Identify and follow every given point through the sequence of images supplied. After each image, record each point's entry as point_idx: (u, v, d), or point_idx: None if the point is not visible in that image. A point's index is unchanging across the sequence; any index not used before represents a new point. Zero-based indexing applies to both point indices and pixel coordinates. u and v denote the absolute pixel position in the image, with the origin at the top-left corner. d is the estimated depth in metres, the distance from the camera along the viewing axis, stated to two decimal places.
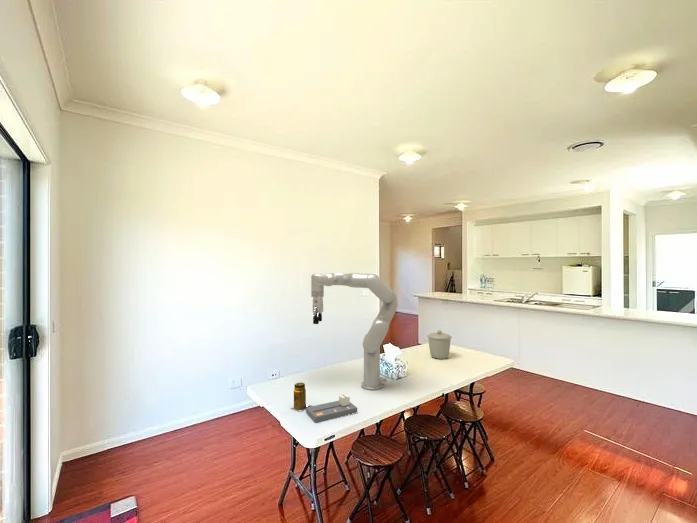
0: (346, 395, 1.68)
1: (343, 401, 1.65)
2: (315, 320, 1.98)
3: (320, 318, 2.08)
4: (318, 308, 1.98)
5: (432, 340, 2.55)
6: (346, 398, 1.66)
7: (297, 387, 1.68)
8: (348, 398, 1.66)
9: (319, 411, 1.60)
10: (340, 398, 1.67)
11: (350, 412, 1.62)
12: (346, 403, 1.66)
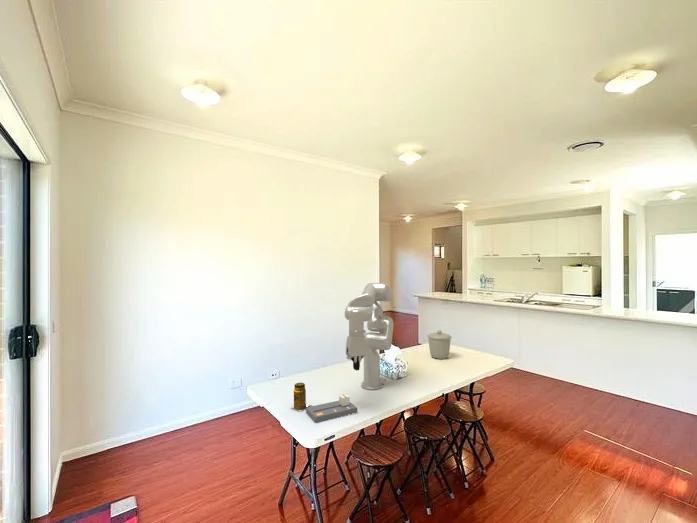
0: (346, 395, 1.68)
1: (343, 401, 1.65)
2: None
3: None
4: None
5: (432, 340, 2.55)
6: (346, 398, 1.66)
7: (297, 387, 1.68)
8: (348, 398, 1.66)
9: (319, 411, 1.60)
10: (340, 398, 1.67)
11: (350, 412, 1.62)
12: (346, 403, 1.66)
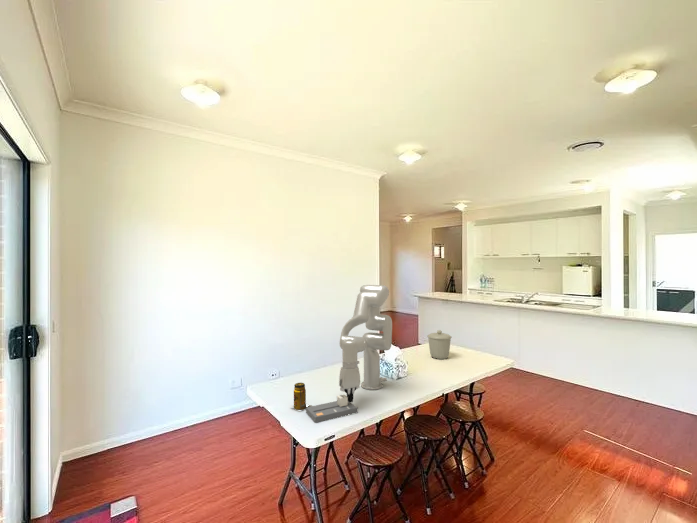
0: (344, 395, 1.68)
1: (341, 402, 1.65)
2: None
3: None
4: None
5: (432, 340, 2.55)
6: (344, 398, 1.65)
7: (297, 387, 1.68)
8: (346, 398, 1.66)
9: (319, 411, 1.60)
10: (338, 398, 1.66)
11: (350, 412, 1.62)
12: (344, 403, 1.65)
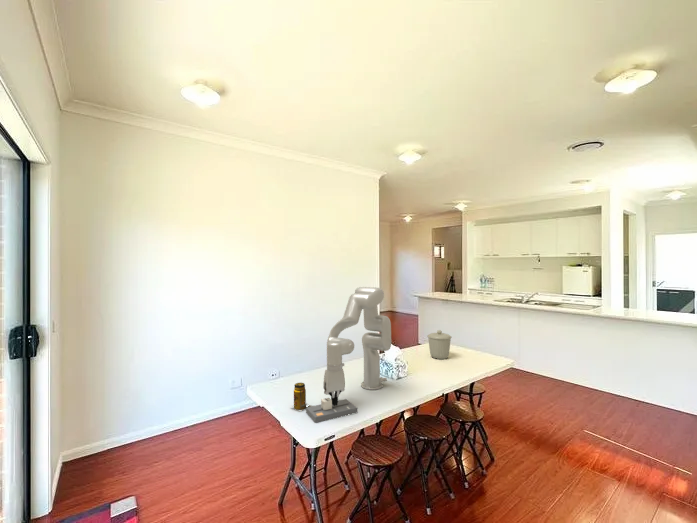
0: (328, 399, 1.64)
1: (325, 405, 1.61)
2: None
3: None
4: None
5: (432, 340, 2.55)
6: (328, 402, 1.61)
7: (297, 387, 1.68)
8: (330, 402, 1.62)
9: (319, 411, 1.60)
10: (322, 402, 1.62)
11: (350, 412, 1.62)
12: (328, 407, 1.61)
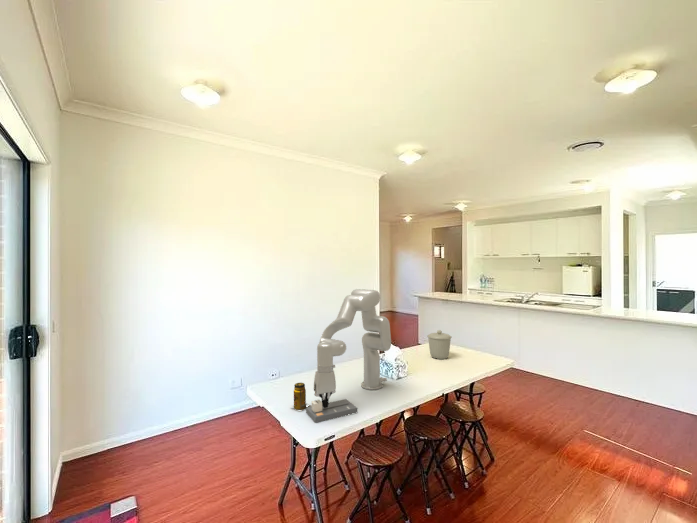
0: (319, 401, 1.61)
1: (315, 408, 1.58)
2: None
3: None
4: None
5: (432, 340, 2.55)
6: (318, 404, 1.59)
7: (297, 387, 1.68)
8: (321, 404, 1.60)
9: None
10: (312, 404, 1.60)
11: (350, 412, 1.62)
12: (318, 409, 1.59)
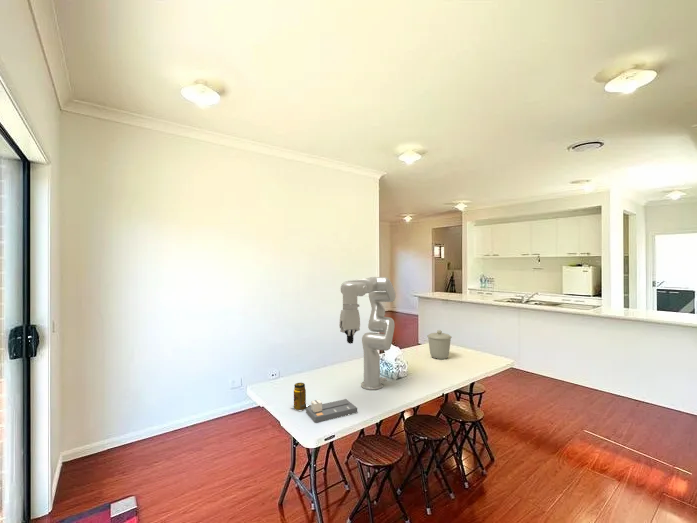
0: (319, 401, 1.61)
1: (315, 408, 1.58)
2: None
3: None
4: None
5: (432, 340, 2.55)
6: (318, 404, 1.59)
7: (297, 387, 1.68)
8: (320, 404, 1.60)
9: None
10: (312, 404, 1.60)
11: (350, 412, 1.62)
12: (318, 409, 1.59)
